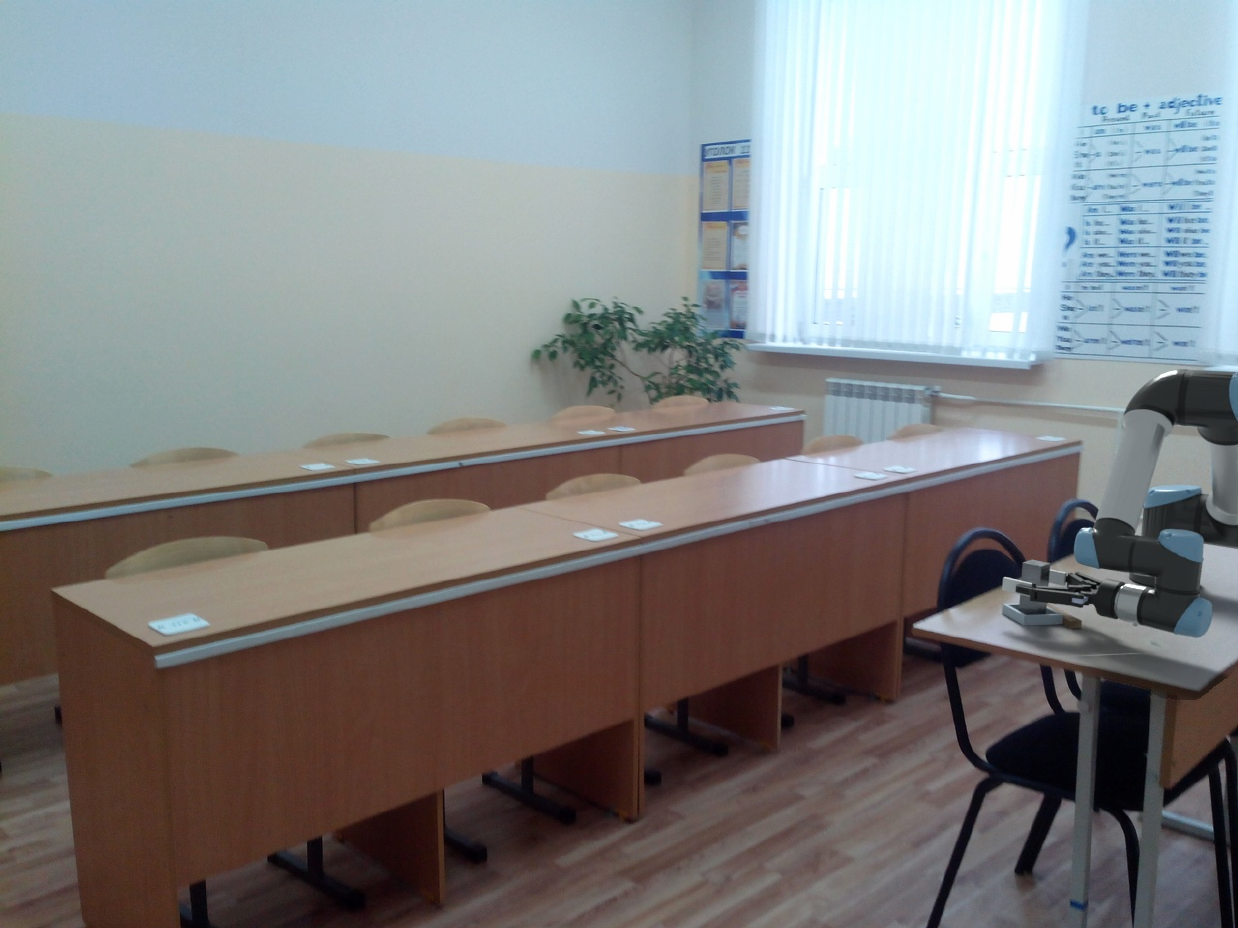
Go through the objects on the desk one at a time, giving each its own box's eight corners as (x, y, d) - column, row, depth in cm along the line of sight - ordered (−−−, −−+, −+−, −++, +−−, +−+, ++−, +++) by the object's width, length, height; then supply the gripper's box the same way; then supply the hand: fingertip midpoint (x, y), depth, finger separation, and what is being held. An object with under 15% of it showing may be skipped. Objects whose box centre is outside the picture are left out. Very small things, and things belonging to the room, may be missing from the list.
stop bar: (1027, 614, 223) (1031, 559, 221) (1045, 618, 220) (1050, 563, 218) (1018, 618, 220) (1022, 562, 218) (1036, 622, 217) (1041, 566, 215)
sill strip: (1043, 607, 228) (1043, 600, 228) (1081, 627, 215) (1081, 620, 214) (1032, 607, 228) (1033, 601, 227) (1070, 628, 214) (1070, 621, 214)
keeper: (1039, 611, 225) (1039, 602, 225) (1062, 623, 217) (1063, 614, 216) (1002, 612, 224) (1002, 603, 223) (1023, 625, 215) (1024, 616, 215)
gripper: (1091, 632, 198) (987, 606, 214) (1147, 607, 214) (1047, 585, 230) (1095, 594, 197) (990, 570, 213) (1150, 572, 213) (1049, 551, 229)
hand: (1019, 578), depth 221 cm, fingers open, 13 cm apart
